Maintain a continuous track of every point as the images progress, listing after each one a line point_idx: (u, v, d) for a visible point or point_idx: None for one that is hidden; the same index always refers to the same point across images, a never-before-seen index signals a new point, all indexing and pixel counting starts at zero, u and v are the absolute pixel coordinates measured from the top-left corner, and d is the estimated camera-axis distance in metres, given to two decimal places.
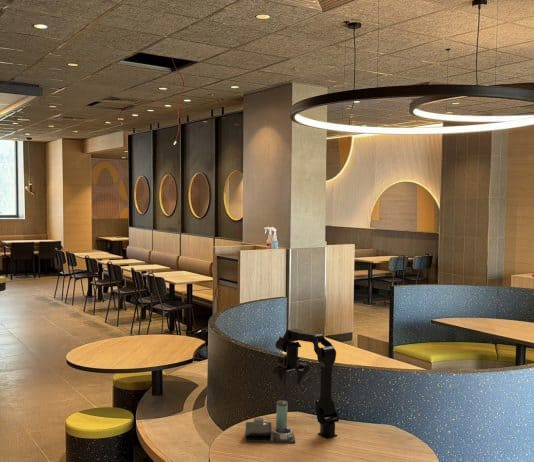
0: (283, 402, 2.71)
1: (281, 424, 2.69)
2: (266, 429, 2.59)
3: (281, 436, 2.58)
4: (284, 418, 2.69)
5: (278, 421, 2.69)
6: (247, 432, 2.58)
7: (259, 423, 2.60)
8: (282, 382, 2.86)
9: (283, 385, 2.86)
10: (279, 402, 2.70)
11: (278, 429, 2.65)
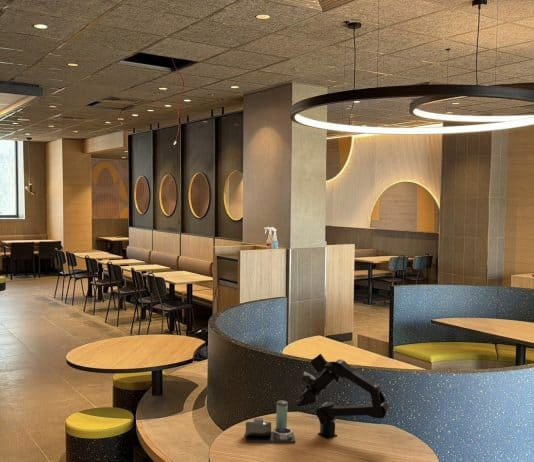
0: (283, 402, 2.71)
1: (281, 424, 2.69)
2: (266, 429, 2.59)
3: (281, 436, 2.58)
4: (284, 418, 2.69)
5: (278, 421, 2.69)
6: (247, 432, 2.58)
7: (259, 423, 2.60)
8: (302, 403, 2.64)
9: (300, 405, 2.64)
10: (279, 402, 2.70)
11: (278, 429, 2.65)
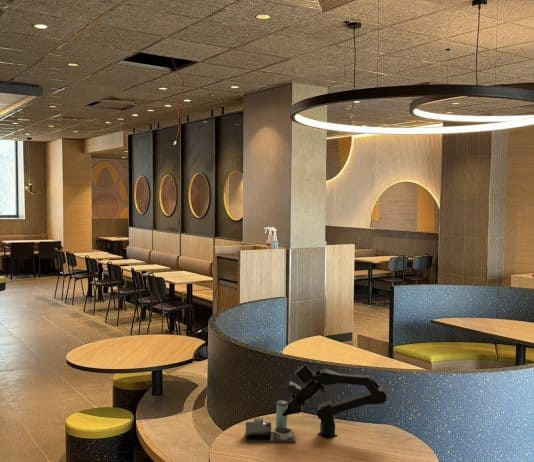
0: (283, 402, 2.71)
1: (281, 424, 2.69)
2: (266, 429, 2.59)
3: (281, 436, 2.58)
4: (284, 418, 2.69)
5: (278, 421, 2.69)
6: (247, 432, 2.58)
7: (259, 423, 2.60)
8: (287, 413, 2.65)
9: (286, 415, 2.66)
10: (279, 402, 2.70)
11: (278, 429, 2.65)
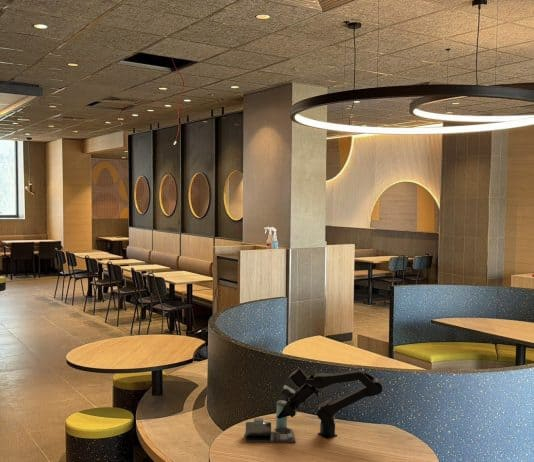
0: (283, 402, 2.71)
1: (281, 424, 2.69)
2: (266, 429, 2.59)
3: (281, 436, 2.58)
4: (284, 418, 2.69)
5: (278, 421, 2.69)
6: (247, 432, 2.58)
7: (259, 423, 2.60)
8: (282, 415, 2.67)
9: (280, 417, 2.68)
10: (279, 402, 2.70)
11: (278, 429, 2.65)
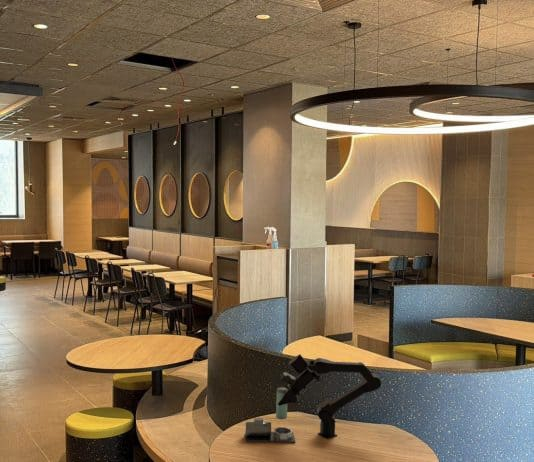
0: (283, 389, 2.68)
1: (282, 411, 2.66)
2: (266, 429, 2.59)
3: (281, 436, 2.58)
4: (285, 405, 2.66)
5: (279, 408, 2.66)
6: (247, 432, 2.58)
7: (259, 423, 2.60)
8: (283, 402, 2.65)
9: (281, 404, 2.65)
10: (279, 389, 2.68)
11: (278, 429, 2.65)
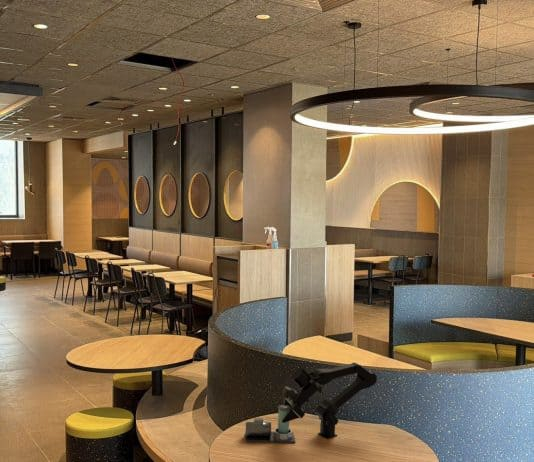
0: (285, 407, 2.62)
1: (285, 430, 2.60)
2: (266, 429, 2.59)
3: (281, 436, 2.58)
4: (288, 423, 2.60)
5: (282, 427, 2.60)
6: (247, 432, 2.58)
7: (259, 423, 2.60)
8: (288, 419, 2.56)
9: (286, 421, 2.57)
10: (281, 407, 2.61)
11: None
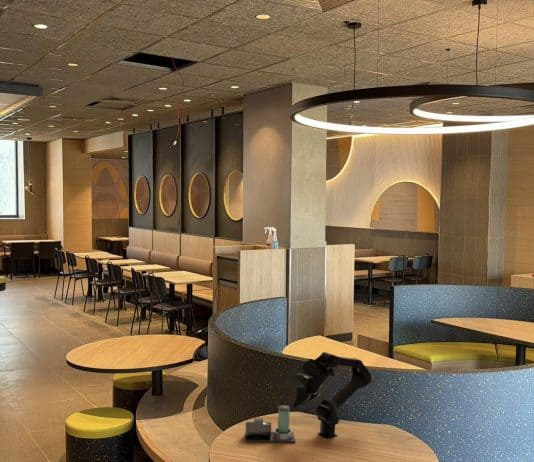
0: (285, 407, 2.61)
1: (285, 430, 2.60)
2: (266, 429, 2.59)
3: (281, 436, 2.58)
4: (288, 423, 2.60)
5: (282, 427, 2.60)
6: (247, 432, 2.58)
7: (259, 423, 2.60)
8: (297, 403, 2.60)
9: (296, 406, 2.61)
10: (281, 407, 2.61)
11: None
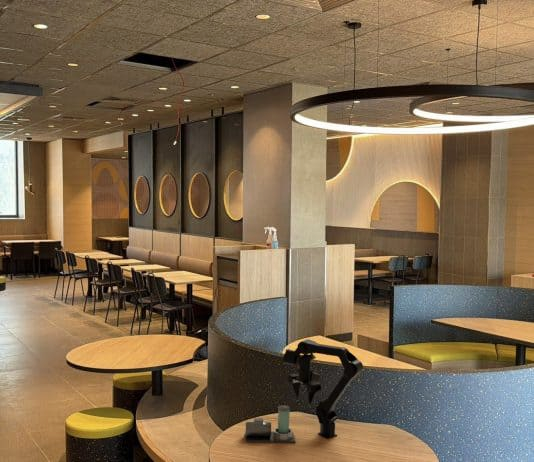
0: (285, 407, 2.61)
1: (285, 430, 2.60)
2: (266, 429, 2.59)
3: (281, 436, 2.58)
4: (287, 423, 2.60)
5: (282, 427, 2.60)
6: (247, 432, 2.58)
7: (259, 423, 2.60)
8: None
9: (295, 394, 2.78)
10: (281, 407, 2.61)
11: None
